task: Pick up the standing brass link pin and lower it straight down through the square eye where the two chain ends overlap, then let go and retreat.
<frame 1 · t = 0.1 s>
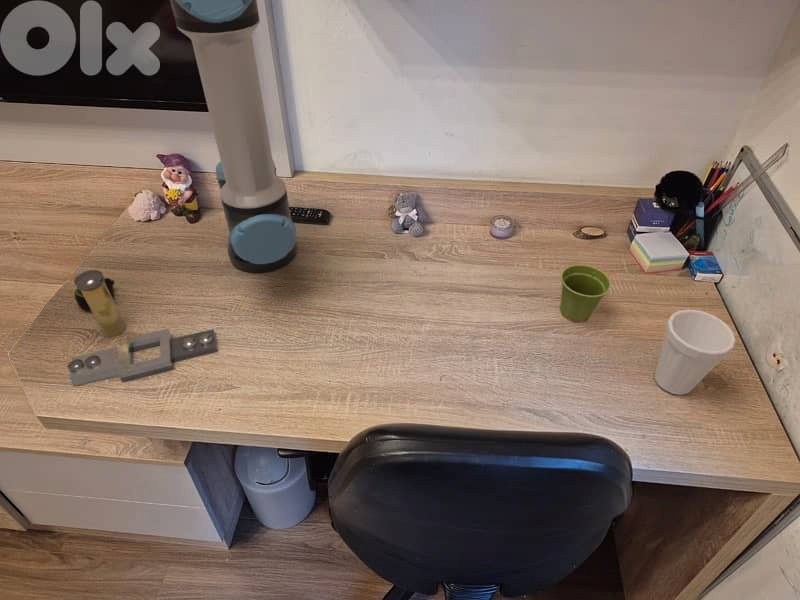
tape measure: (102, 301, 108), on the table
cup: (672, 382, 93), on the table
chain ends: (148, 358, 96), on the table
plant pot: (575, 313, 106), on the table
link pin: (115, 329, 101), on the table
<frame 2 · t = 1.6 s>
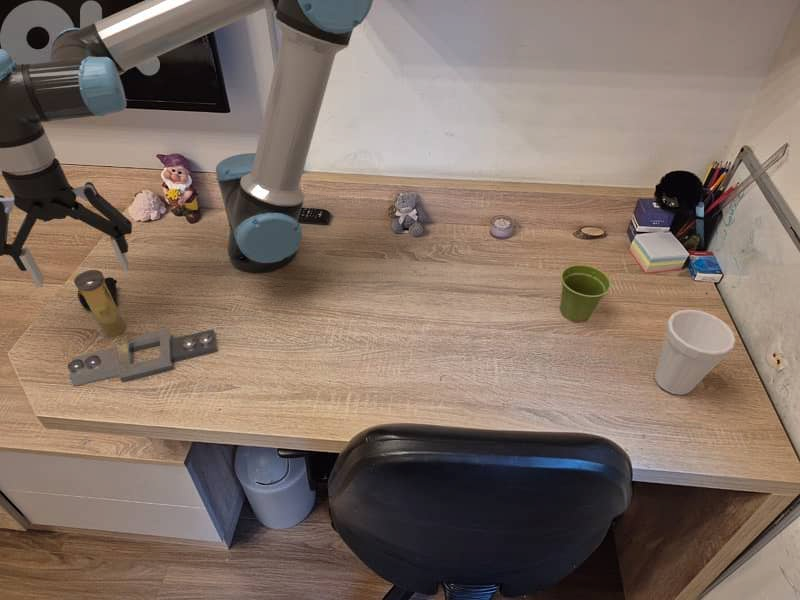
hand: (84, 274, 92), 14 cm above the table, fingers open, 13 cm apart
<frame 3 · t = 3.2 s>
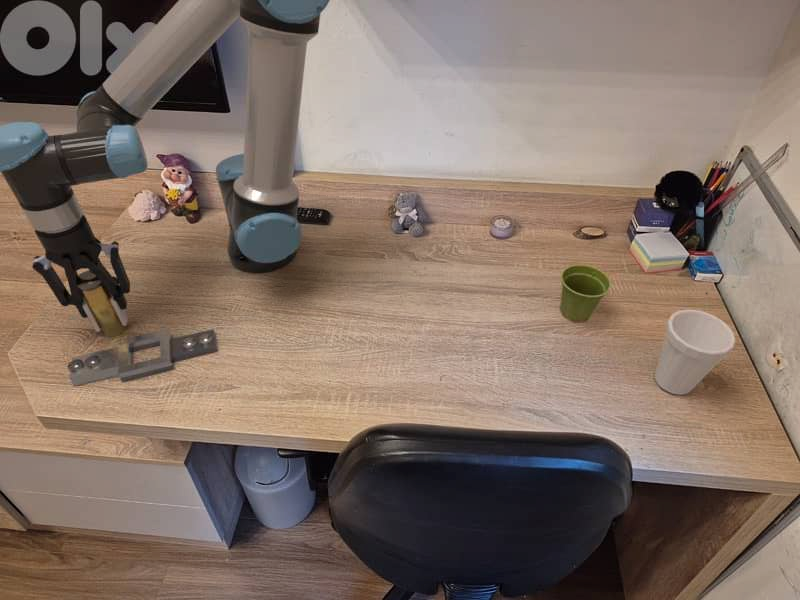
hand: (112, 323, 100), 2 cm above the table, fingers closed on link pin, 4 cm apart
link pin: (115, 329, 101), on the table, touching gripper
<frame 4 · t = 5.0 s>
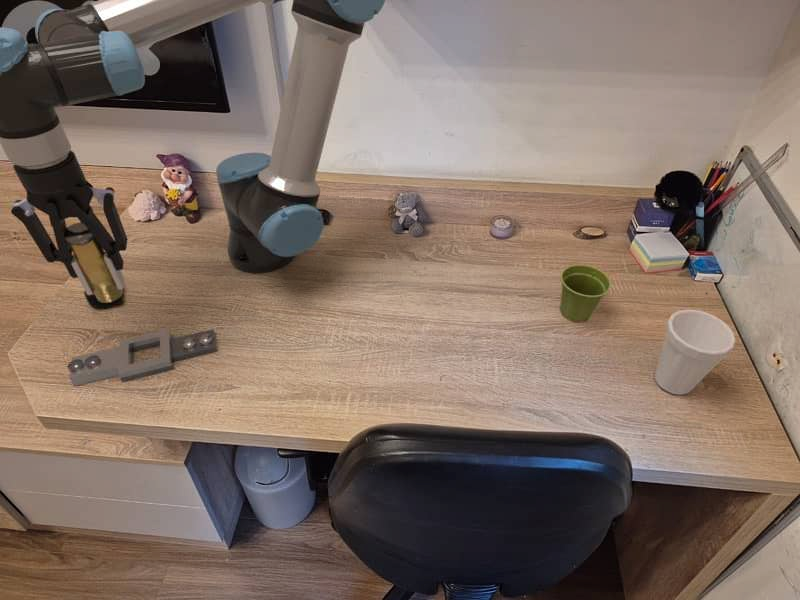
hand: (106, 286, 87), 16 cm above the table, fingers closed on link pin, 4 cm apart
link pin: (110, 294, 88), point 14 cm above the table, touching gripper
when the fingers open (3 cm above the table, at t = 7.1 s): link pin drops 1 cm, resting in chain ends.
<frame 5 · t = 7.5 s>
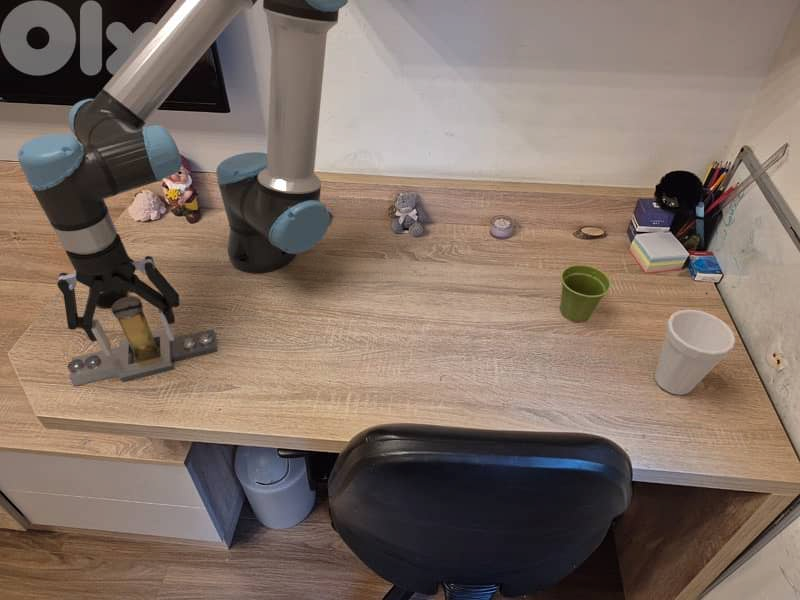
hand: (140, 342, 93), 4 cm above the table, fingers open, 10 cm apart
link pin: (149, 358, 96), resting in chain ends
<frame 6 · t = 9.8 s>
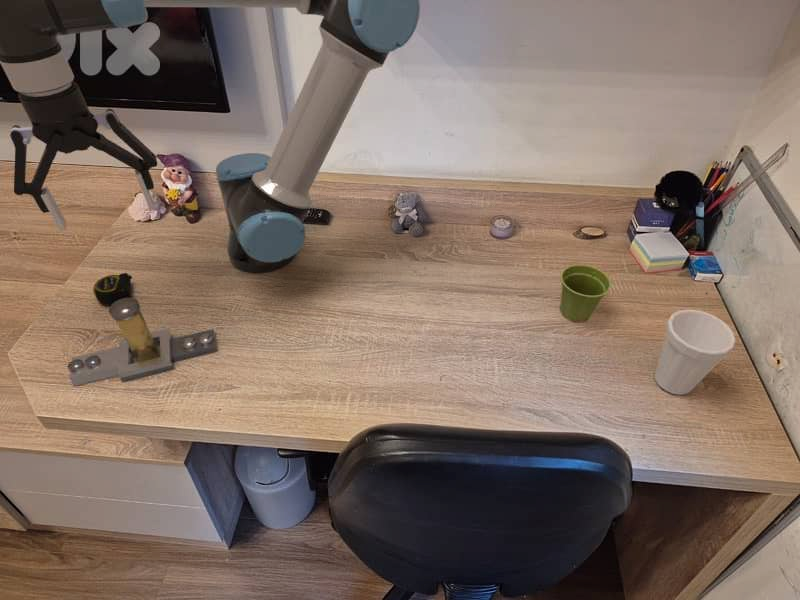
hand: (108, 216, 86), 25 cm above the table, fingers open, 13 cm apart
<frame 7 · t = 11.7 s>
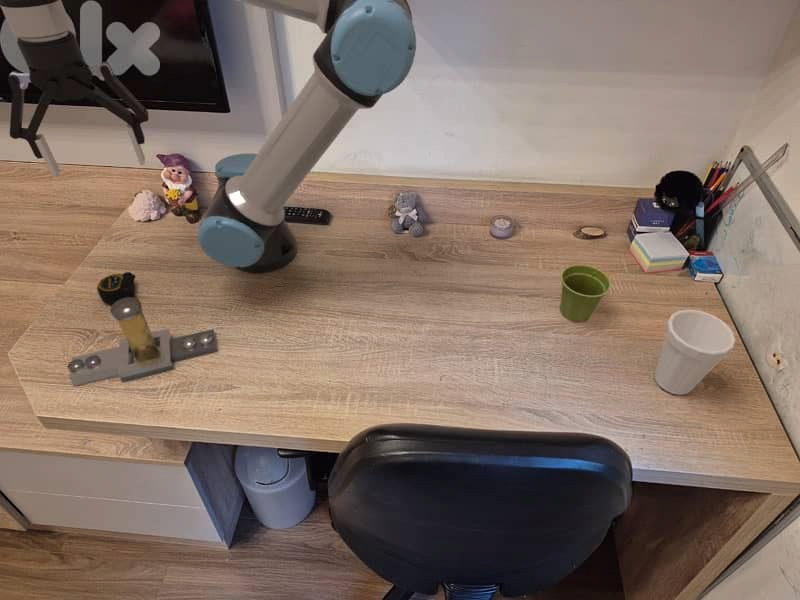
hand: (100, 167, 90), 29 cm above the table, fingers open, 13 cm apart
at the end: link pin 0.1 cm off-centre on the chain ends, point 0.0 cm above the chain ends's base; link pin tilted 1°; the gripper is holding nothing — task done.
